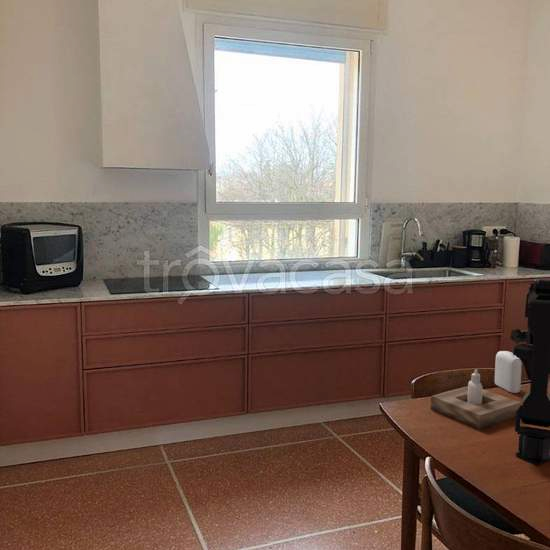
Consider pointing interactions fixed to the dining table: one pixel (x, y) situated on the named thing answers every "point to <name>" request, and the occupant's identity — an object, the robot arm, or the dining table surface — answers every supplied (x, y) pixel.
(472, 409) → the socket block
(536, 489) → the dining table surface
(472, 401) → the eye dropper bottle
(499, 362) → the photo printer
